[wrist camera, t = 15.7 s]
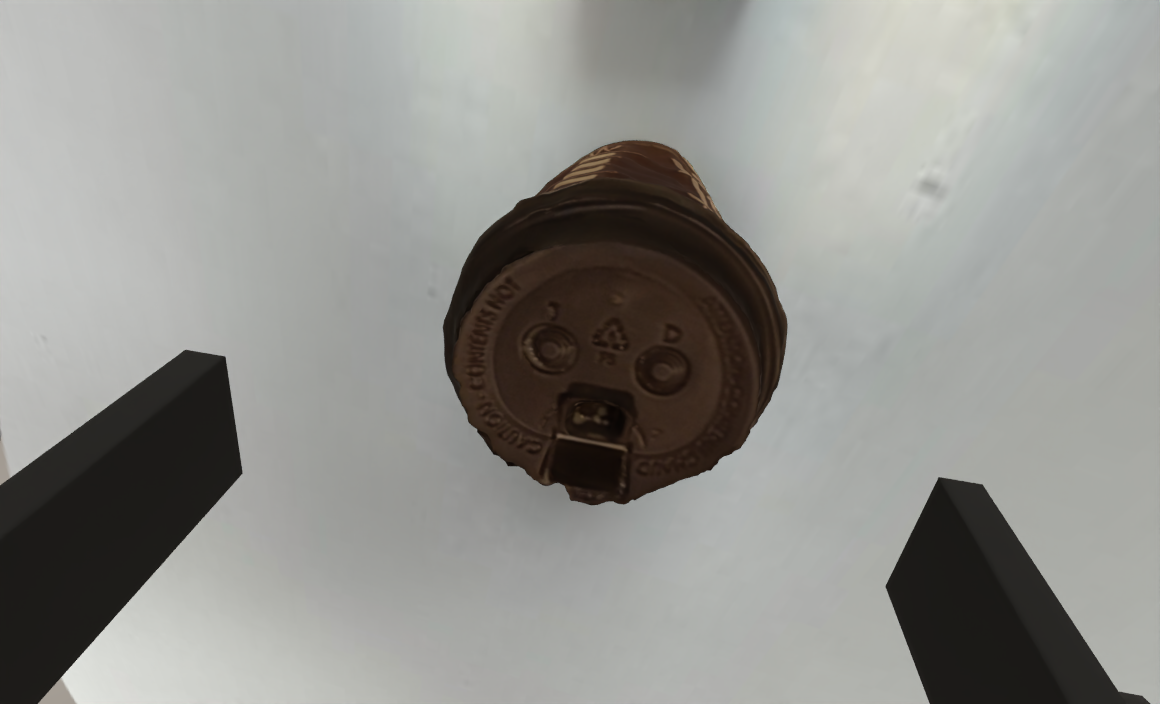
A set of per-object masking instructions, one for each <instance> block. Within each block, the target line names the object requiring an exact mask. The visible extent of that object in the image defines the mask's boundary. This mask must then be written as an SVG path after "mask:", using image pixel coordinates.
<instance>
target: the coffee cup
mask: <svg viewBox="0 0 1160 704" xmlns="http://www.w3.org/2000/svg"><path fill="white" fill-rule="evenodd" d="M443 333H444V356H445V365H446V370H447V374H448V376H449V378H450V380H451V382H452V384H453V386H454V389H455V392H456V394H457V396H458V398H459V400H460V402H461V404H462V406H463V407H464V409H465V411H466V413H467V415H468V422H469V423H470V424H471V425H472V426H473V427H475V428H476V429H477V432H478V433H479V434H480V435H481V437H482V438H483V439H484V441H485V442H486V444H487V446H488V447H489V449H490V450H491V451H492V453H493V454H494V455H498V456H499V457H500V458H501V459H503V460H504V461H505V462H506V464H507V465H508V466H519V467H521V468H523V469H525V471H526V473H527V474H528V475H529V476H531V477H532V478H533V480H536V481H538V482H539V483H540V484H542V485H544V486H549V485H552V484H554V483H560V484H562V485H564V486H565V488H566V491H567V492H568V494H569V496H570V500H571V501H578V502H582V503H586V504H589V505H598V504H601V503H604V502H607V501H614V502H615V503H618V504H627V503H629V501H631V500H636V499H638V498H640V497H641V496H643V495H645V494H647V493H651V492H654V491H656V490H658V489H660V488H664V487H666V486H668V485H671V484H674V483H675V482H677V481H679V480H682V479H685V478H690V477H693V476H697V475H699V474H700V473H703V472H705V471H707V470H712V468H713V467H714V466H715V465H716V464H717V463H718V461H719V459H721V458H722V457H723V456H727V455H730V454H732V453H733V452H734V451H735V450H738V449H740V448H741V446H742V445H743V444H744V442H745V441H746V439H747V437H748V435H749V433H750V429H751V428H752V427H754V425H755V424H756V423H757V422H758V419H759V417H760V416H761V414H762V413H763V412H764V409H765V408H766V406H767V405H768V403H769V402H770V400H771V397H772V394H773V392H774V390H775V389H776V388H777V386H778V382H779V378H780V373H781V369H782V365H783V360H784V355H785V347H786V338H787V318H786V315H785V312H784V310H783V308H782V305H781V303H780V301H779V299H778V295H777V291H776V287H775V285H774V283H773V281H772V279H771V277H770V275H769V273H768V271H767V269H766V267H765V266H764V264H763V263H762V262H761V260H760V258H759V257H758V256H757V254H756V253H755V252H754V251H753V250H752V249H751V248H750V246H749V244H748V243H747V242H746V241H745V240H744V239H743V238H742V237H740V236H739V235H738V234H737V233H736V232H734V231H733V230H732V229H731V228H730V227H729V226H728V225H727V224H726V223H725V222H724V221H723V219H722V217H721V215H720V213H719V212H718V210H717V208H716V207H715V206H714V203H713V201H712V199H711V197H710V195H709V194H708V192H707V190H706V188H705V187H704V185H703V183H702V182H701V180H700V178H699V176H698V175H697V173H696V172H695V170H694V169H693V167H692V165H691V164H690V163H689V162H688V161H687V160H686V159H685V158H684V157H682V156H681V155H680V154H679V152H678V151H676V150H675V149H672V148H670V147H668V146H665V145H663V144H659V143H655V142H649V141H622V142H617V143H612V144H609V145H605V146H602V147H600V148H598V149H596V150H594V151H593V152H591V153H589V154H588V155H586V156H584V157H582V158H581V159H579V160H578V161H577V162H575V163H574V164H573V165H571V166H570V167H568V168H567V169H565V170H564V171H562V172H561V173H560V174H558V175H557V176H556V177H555V178H553V179H552V180H551V181H550V182H548V183H547V184H546V185H545V186H544V187H543V188H542V190H541V191H540V192H539V193H538V194H537V195H535V196H534V197H531V198H527V199H524V200H521V201H519V202H518V203H517V204H516V206H515V207H514V209H513V210H512V211H510V212H509V213H507V214H506V215H504V216H503V217H502V218H500V219H499V220H498V221H496V222H495V223H494V224H493V225H492V226H491V227H490V228H488V229H487V230H486V231H485V232H484V233H483V234H482V235H481V236H480V237H479V239H478V241H477V242H476V244H475V246H474V247H473V249H472V251H471V253H470V254H469V256H468V258H467V260H466V262H465V264H464V266H463V268H462V271H461V275H460V278H459V281H458V284H457V286H456V289H455V291H454V294H453V297H452V301H451V304H450V307H449V310H448V313H447V315H446V317H445V320H444V324H443Z"/></svg>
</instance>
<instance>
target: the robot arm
mask: <svg viewBox="0 0 1160 704" xmlns="http://www.w3.org/2000/svg"><path fill="white" fill-rule="evenodd" d="M241 475H242V466H241V459H240V452H239V446H238V439H237V432H236V425H235V419H234V412H233V405H232V398H231V391H230V385H229V378H228V371H227V364H226V358H225V356H219V355H213V354H207V353H201V352H195V351H189V350H185V351H183V352H182V353H181V354H179V355H178V356H176V357H175V358H174V359H172V360H171V361H170V362H168V363H167V364H166V365H164V366H163V367H161V368H160V369H159V370H157V371H156V372H155V373H153V374H152V375H150V376H149V377H148V378H146V379H145V380H144V381H142V382H141V383H140V384H138V385H137V386H135V387H134V388H133V389H131V390H130V391H129V392H127V393H126V394H125V395H123V396H122V397H120V398H119V399H118V400H116V401H115V402H114V403H112V404H111V405H109V406H108V407H107V408H105V409H104V410H103V411H101V412H100V413H99V414H97V415H96V416H94V417H93V418H92V419H90V420H89V421H88V422H86V423H85V424H84V425H82V426H81V427H79V428H78V429H77V430H75V431H74V432H73V433H71V434H70V435H69V436H67V437H66V438H64V439H63V440H62V441H60V442H59V443H58V444H56V445H55V446H53V447H52V448H51V449H49V450H48V451H47V452H45V453H44V454H43V455H41V456H40V457H38V458H37V459H36V460H34V461H33V462H32V463H30V464H29V465H28V466H26V467H25V468H23V469H22V470H21V471H19V472H18V473H17V474H15V475H14V476H12V477H11V478H10V479H8V480H7V481H6V482H4V483H3V484H2V485H0V704H38V703H39V702H40V700H41V699H42V698H43V697H44V696H45V695H46V694H47V692H48V691H49V690H50V689H51V688H52V687H53V686H54V685H55V684H56V682H57V681H58V680H59V679H60V678H61V677H62V676H63V675H64V673H65V672H66V671H67V670H68V669H69V668H70V667H71V666H72V664H73V663H74V662H75V661H76V660H77V659H78V658H79V657H80V655H81V654H82V653H83V652H84V651H85V650H86V649H87V648H88V646H89V645H90V644H91V643H92V642H93V641H94V640H95V639H96V638H97V636H98V635H99V634H100V633H101V632H102V631H103V630H104V629H105V627H106V626H107V625H108V624H109V623H110V622H111V621H112V620H113V618H114V617H115V616H116V615H117V614H118V613H119V612H120V611H121V609H122V608H123V607H124V606H125V605H126V604H127V603H128V602H129V600H130V599H131V598H132V597H133V596H134V595H135V594H136V593H137V591H138V590H139V589H140V588H141V587H142V586H143V585H144V584H145V582H146V581H147V580H148V579H149V578H150V577H151V576H152V575H153V573H154V572H155V571H156V570H157V569H158V568H159V567H160V566H161V564H162V563H163V562H164V561H165V560H166V559H167V558H168V557H169V555H170V554H171V553H172V552H173V551H174V550H175V549H176V548H177V546H178V545H179V544H180V543H181V542H182V541H183V540H184V539H185V537H186V536H187V535H188V534H189V533H190V532H191V531H192V530H193V528H194V527H195V526H196V525H197V524H198V523H199V522H200V521H201V519H202V518H203V517H204V516H205V515H206V514H207V513H208V512H209V511H210V509H211V508H212V507H213V506H214V505H215V504H216V503H217V502H218V500H219V499H220V498H221V497H222V496H223V495H224V494H225V493H226V491H227V490H228V489H229V488H230V487H231V486H232V485H233V484H234V482H235V481H236V480H237V479H238V478H239V477H240V476H241ZM886 589H887V592H888V594H889V597H890V600H891V602H892V605H893V607H894V610H895V613H896V615H897V618H898V621H899V623H900V626H901V629H902V631H903V634H904V637H905V639H906V642H907V645H908V647H909V650H910V653H911V655H912V658H913V660H914V663H915V666H916V668H917V671H918V674H919V676H920V679H921V682H922V684H923V687H924V690H925V692H926V695H927V698H928V700H929V703H930V704H1150V703H1149V702H1148V701H1147V700H1146V699H1145V698H1144V697H1143V696H1140V695H1134V694H1128V693H1123V692H1118V690H1117V689H1116V687H1115V686H1114V684H1113V683H1112V681H1111V680H1110V678H1109V677H1108V675H1107V674H1106V672H1105V671H1104V669H1103V668H1102V666H1101V664H1100V663H1099V661H1098V660H1097V658H1096V657H1095V655H1094V654H1093V652H1092V651H1091V649H1090V648H1089V646H1088V645H1087V643H1086V642H1085V640H1084V639H1083V637H1082V636H1081V634H1080V633H1079V631H1078V629H1077V628H1076V626H1075V625H1074V623H1073V622H1072V620H1071V619H1070V617H1069V616H1068V614H1067V613H1066V611H1065V610H1064V608H1063V607H1062V605H1061V604H1060V602H1059V601H1058V599H1057V597H1056V596H1055V594H1054V593H1053V591H1052V590H1051V588H1050V587H1049V585H1048V584H1047V582H1046V581H1045V579H1044V578H1043V576H1042V575H1041V573H1040V572H1039V570H1038V569H1037V567H1036V565H1035V564H1034V562H1033V561H1032V559H1031V558H1030V556H1029V555H1028V553H1027V552H1026V550H1025V549H1024V547H1023V546H1022V544H1021V543H1020V541H1019V540H1018V538H1017V537H1016V535H1015V533H1014V532H1013V530H1012V529H1011V527H1010V526H1009V524H1008V523H1007V521H1006V520H1005V518H1004V517H1003V515H1002V514H1001V512H1000V511H999V509H998V508H997V506H996V505H995V503H994V502H993V500H992V498H991V497H990V495H989V494H988V492H987V491H986V489H985V488H984V486H983V485H982V484H976V483H970V482H964V481H958V480H952V479H946V478H940V477H939V478H938V480H937V482H936V484H935V486H934V488H933V490H932V492H931V494H930V496H929V498H928V501H927V503H926V505H925V507H924V509H923V511H922V513H921V515H920V517H919V519H918V521H917V523H916V525H915V527H914V529H913V531H912V533H911V535H910V537H909V539H908V541H907V543H906V545H905V548H904V550H903V552H902V554H901V556H900V558H899V560H898V562H897V564H896V566H895V568H894V570H893V572H892V574H891V576H890V578H889V580H888V582H887V584H886Z"/></svg>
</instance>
